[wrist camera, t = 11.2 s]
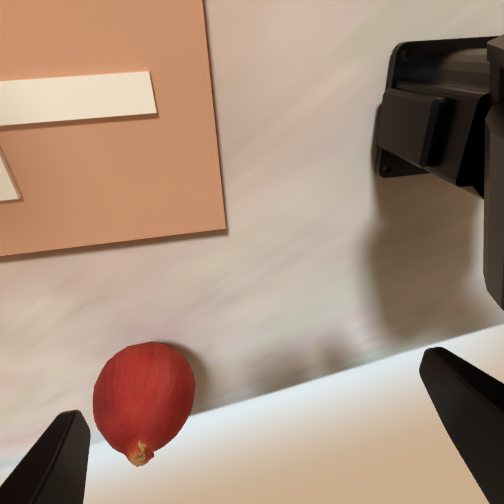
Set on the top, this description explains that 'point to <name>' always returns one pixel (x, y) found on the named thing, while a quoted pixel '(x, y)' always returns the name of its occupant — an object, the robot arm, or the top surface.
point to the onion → (143, 399)
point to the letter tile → (105, 123)
